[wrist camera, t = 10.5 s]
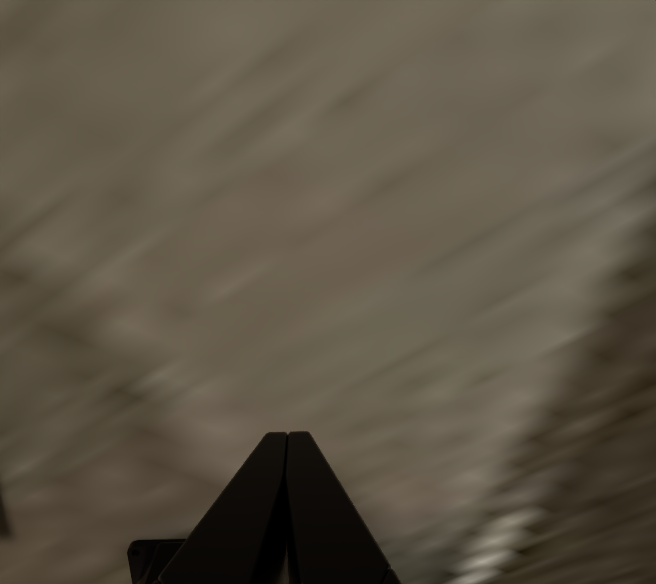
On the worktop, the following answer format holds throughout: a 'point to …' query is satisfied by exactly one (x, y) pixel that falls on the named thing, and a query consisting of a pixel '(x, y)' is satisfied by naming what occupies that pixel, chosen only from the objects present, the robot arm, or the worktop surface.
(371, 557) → the robot arm
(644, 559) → the worktop surface
